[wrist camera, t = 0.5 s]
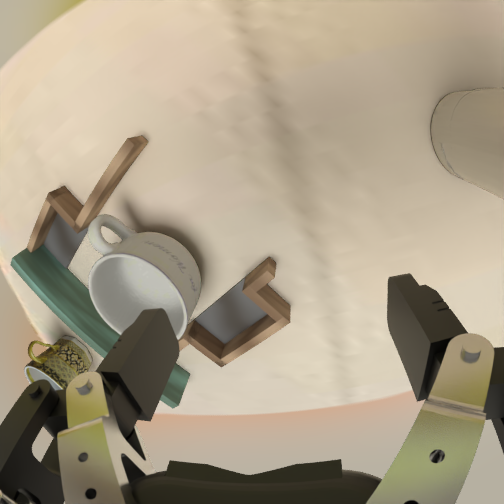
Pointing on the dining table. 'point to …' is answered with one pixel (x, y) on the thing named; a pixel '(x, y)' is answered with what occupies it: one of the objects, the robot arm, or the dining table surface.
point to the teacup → (141, 276)
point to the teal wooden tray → (84, 312)
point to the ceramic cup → (58, 362)
